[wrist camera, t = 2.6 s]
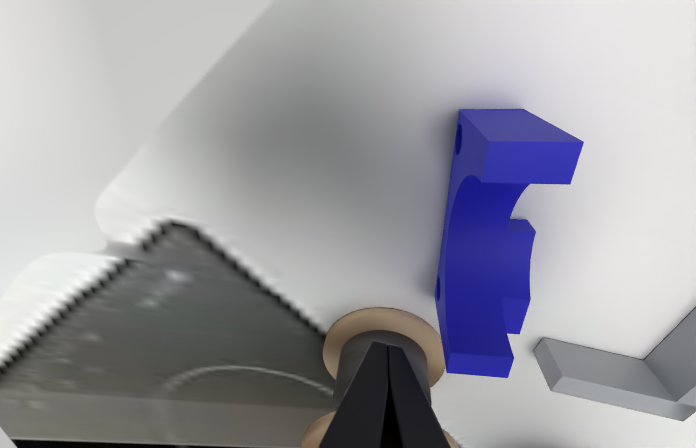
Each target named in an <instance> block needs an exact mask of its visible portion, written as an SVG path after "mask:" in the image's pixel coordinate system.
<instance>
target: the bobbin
mask: <svg viewBox="0 0 696 448" xmlns="http://www.w3.org/2000/svg"><path fill="white" fill-rule="evenodd" d="M373 340H376V341H381V342H384V343H386V345H387V344H393V345H398V346H401V347H402V348H403V350H404V352H405V354H406V356H407V358H408V360H409V362H410V364H411V366H412V368H413V370H414V372H415V374H416V376H417V378H418V380H419V383H420V385H421V387H422V389H423V391H424V393H425V395H426V397H427V399H428V401H429V403H430V405H431V394H430V388H431V387H432V386H433V385H434V384H435V383H436V382H437V381H438V380H439V379H440V377H441V376H442V374H443V372H444V369H445V359H444V352H443V346H442V341H441V338H440V337H439V335H438V333H437V332H436V331H435V330H434V329H433V328H432V327H431V326H430V325H429V324H428V323H427V322H425V321H424V320H422V319H421V318H419V317H417V316H415V315H413V314H410V313H408V312H404V311H401V310H396V309H391V308H369V309H363V310H358V311H355V312H352V313H350V314H348V315H346V316H344V317H342V318H341V319H339V320H338V321H337V322H336V323H334V324H333V326H332V327H331V328H330V330H329V331H328V333H327V336H326V339H325V343H324V347H323V360H324V364H325V366H326V368H327V370H328V371H329V373H330V374H331V375H332V377H333V378H334V379H335V380H336V382H335V388H334V394H333V399H334V403H335V405H336V407H337V409H338V407H339V405H340V403H341V401H342V399H343V397H344V395H345V393H346V391H347V389H348V387H349V385H350V383H351V381H352V379H353V377H354V375H355V373H356V371H357V369H358V367H359V365H360V363H361V361H362V359H363V357H364V355H365V353H366V351H367V349H368V347H369V345H370V343H371V342H372V341H373ZM335 413H336V411H335V412H332V413H330V414H327V415H325V416H323V417H321V418H319V419H318V420H316V421H315V422H313V423H312V424H311V425H310V426H309V427H308V429H307V430H306V432H305V435H304V437H303V442H302V446H301V448H318V447H319V444H320V442H321V440H322V438H323V436H324V434H325V432H326V430H327V428H328V426H329V424H330V422H331V420H332V418H333V416H334V415H335ZM442 430H443V429H442ZM443 432H444V434H445V436H446V438H447V440H448V442H449V444H450V446H451V448H459V447H458V445H457V443H456V442H455V440H454V439H453V438H452V437H451V436H450V435H449V434H448V433H447V432H446V431H445V430H443Z"/></svg>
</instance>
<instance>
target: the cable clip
mask: <svg viewBox="0 0 696 448" xmlns="http://www.w3.org/2000/svg"><path fill="white" fill-rule="evenodd" d="M583 143H584V142H583V141H581V140H579V139H577V138H576V137H574V136H572V135H570V134H568V133H566V132H565V131H563V130H561V129H559V128H557V127H555V126H554V125H552V124H550V123H548V122H546V121H544V120H543V119H541V118H539V117H537V116H535V115H533V114H532V113H530V112H528V111H526V110H524V109H459V117H458V124H457V132H456V139H455V147H454V154H453V162H452V169H451V177H450V185H449V192H448V200H447V207H446V215H445V222H444V230H443V237H442V245H441V252H440V260H439V268H438V275H437V283H436V290H435V302H436V308H437V315H438V321H439V327H440V334H441V340H442V346H443V352H444V359H445V365H446V371H447V373H456V374H467V375H479V376H491V377H502V378H508V376H509V372H510V369H511V366H512V363H513V360H514V356H513V353H512V350H511V347H510V343H509V340H508V336H507V333H509V334H520V331H521V328H522V325H523V321H524V318H525V315H526V312H527V309H528V306H529V303H530V281H529V277H530V259H531V251H532V245H533V241H534V236H535V233H536V231H535V230H534V229H533V227H532V226H531V225H530V223H529V222H528V220H517V219H510V216H511V213H512V210H513V208H514V206H515V204H516V202H517V200H518V198H519V197H520V195H521V194H522V192H523V191H524V190H525V188H526V187H527V186H528V185H529V184H570V183H571V180H572V177H573V174H574V171H575V168H576V165H577V162H578V158H579V155H580V152H581V149H582V146H583Z"/></svg>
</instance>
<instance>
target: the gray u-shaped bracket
mask: <svg viewBox="0 0 696 448" xmlns="http://www.w3.org/2000/svg"><path fill="white" fill-rule="evenodd" d="M533 353H534V355H535V357H536V359H537V362H538V364H539V366H540V368H541V371H542V373H543V375H544V377H545V379H546V382H547V384H548V386H549V388H550V391H553V392H558V393H562V394H567V395H571V396H575V397H580V398H584V399H588V400H593V401H597V402H601V403H606V404H610V405H614V406H619V407H623V408H627V409H632V410H636V411H640V412H645V413H649V414H653V415H658V416H662V417H666V418H671V419H675V420H679V421H685V420H686V419H687V418H688V417H690V416H691V415H692V414H693V413H695V412H696V308H695V309H694V310H693V311H692V312H691V313H690V314H689V315H688V316H687V317H686V318H685V319H684V320H683V321H682V322H681V323H680V324H679V325H678V326H677V327H676V328H675V329H674V330H673V331H672V332H671V333H670V334H669V335H668V336H667V337H666V338H665V339H664V340H663V341H662V342H661V343H660V344H659V345H658V346H657V347H656V348H655V349H654V350H653V351H652V352H651V353H650V354H649V355H648V356H647V358H646V359H645V360H640V359H635V358H631V357H627V356H622V355H618V354H613V353H609V352H605V351H600V350H596V349H592V348H587V347H583V346H579V345H574V344H570V343H565V342H561V341H557V340H552V339H548V338H544V337H543V339H542V340H541V341H540V343H539V344H538V346H537V347H536V348H535V350H534V351H533Z"/></svg>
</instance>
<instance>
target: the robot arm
mask: <svg viewBox="0 0 696 448" xmlns="http://www.w3.org/2000/svg"><path fill="white" fill-rule="evenodd" d="M318 448H451V446H450V444H449V442H448V440H447V438H446V436H445V434H444V432H443V430H442V428H441V426H440V424H439V422H438V420H437V418H436V415H435V413H434V411H433V409H432V407H431V405H430V403H429V401H428V399H427V397H426V395H425V393H424V391H423V389H422V387H421V385H420V383H419V380H418V378H417V376H416V374H415V372H414V370H413V368H412V366H411V364H410V362H409V360H408V358H407V356H406V354H405V352H404V350H403V348H402V347H401V346H398V345H393V344H387V345H386V343H384V342H381V341H376V340H373V341H372V342H371V343H370V345H369V347H368V349H367V351H366V353H365V355H364V357H363V359H362V361H361V363H360V365H359V367H358V369H357V371H356V373H355V375H354V377H353V379H352V381H351V383H350V385H349V387H348V389H347V391H346V393H345V395H344V397H343V399H342V401H341V403H340V405H339V407H338V409H337V411H336V413H335V415H334V416H333V418H332V420H331V422H330V424H329V426H328V428H327V430H326V432H325V434H324V436H323V438H322V440H321V442H320V444H319V447H318Z"/></svg>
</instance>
